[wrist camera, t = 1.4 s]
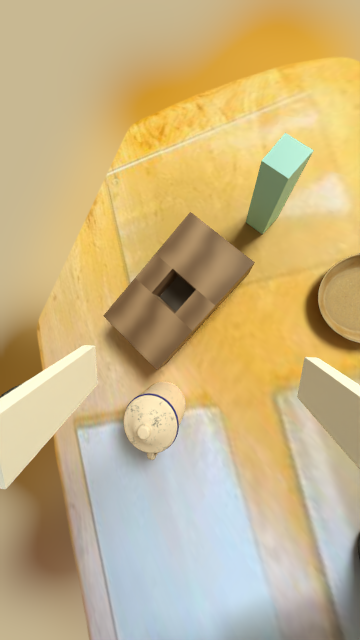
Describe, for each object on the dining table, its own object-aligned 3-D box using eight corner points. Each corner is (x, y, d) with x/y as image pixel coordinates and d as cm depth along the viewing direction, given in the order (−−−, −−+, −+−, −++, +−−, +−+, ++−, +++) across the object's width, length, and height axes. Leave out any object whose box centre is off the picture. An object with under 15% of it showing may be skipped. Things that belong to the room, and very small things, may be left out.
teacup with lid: (145, 376, 40) (116, 396, 29) (189, 383, 38) (176, 407, 27) (140, 435, 40) (108, 478, 28) (183, 444, 38) (168, 495, 26)
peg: (277, 217, 36) (313, 150, 22) (262, 234, 37) (288, 178, 23) (260, 205, 37) (285, 132, 23) (245, 222, 37) (261, 160, 23)
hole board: (248, 272, 37) (254, 262, 31) (165, 363, 39) (156, 370, 33) (194, 229, 39) (190, 212, 33) (119, 317, 42) (103, 315, 36)
